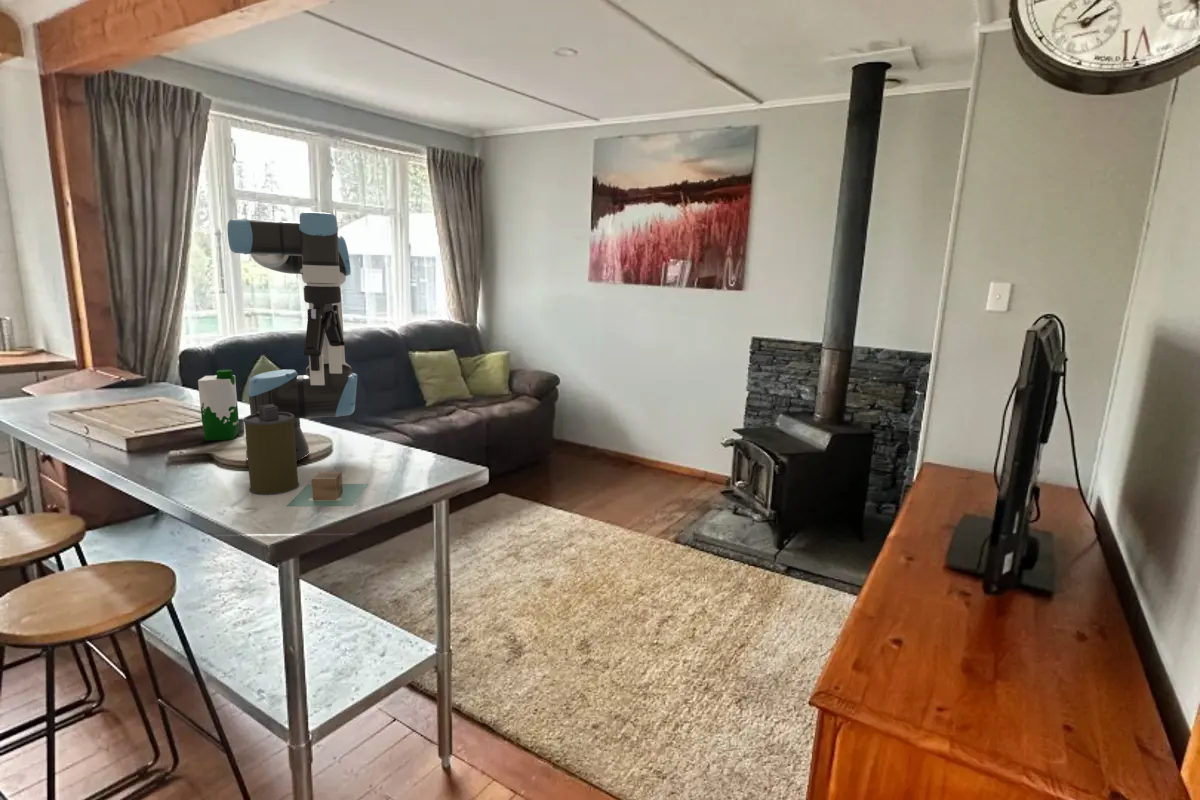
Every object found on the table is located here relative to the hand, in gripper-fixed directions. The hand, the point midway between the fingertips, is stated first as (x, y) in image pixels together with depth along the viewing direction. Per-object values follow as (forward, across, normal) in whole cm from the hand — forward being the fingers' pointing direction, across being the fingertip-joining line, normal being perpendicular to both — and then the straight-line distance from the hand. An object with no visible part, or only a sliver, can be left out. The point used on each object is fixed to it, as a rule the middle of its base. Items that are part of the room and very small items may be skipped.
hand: (327, 378), depth 143 cm
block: (+26, +6, +1) cm, 27 cm away
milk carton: (+27, -43, -44) cm, 67 cm away
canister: (+27, 0, -13) cm, 30 cm away
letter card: (+26, +5, +1) cm, 27 cm away
